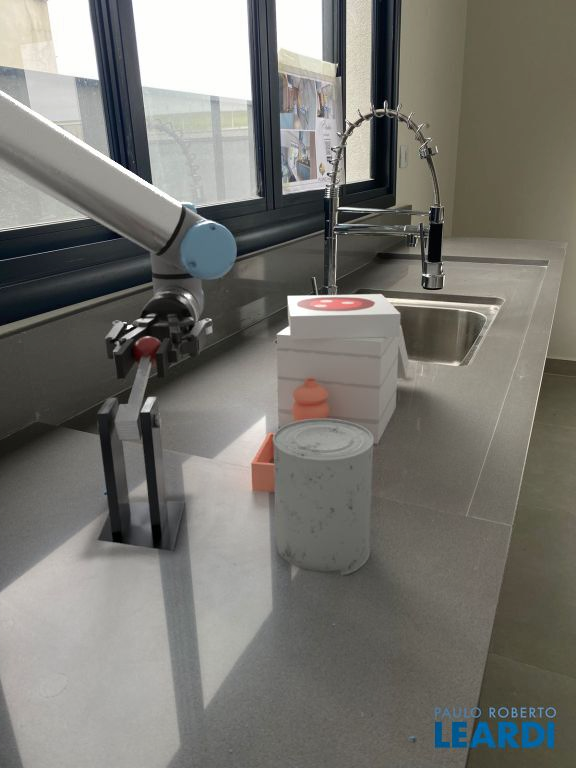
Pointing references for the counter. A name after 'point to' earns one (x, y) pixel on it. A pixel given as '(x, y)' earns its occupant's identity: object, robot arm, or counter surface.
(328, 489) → the grey tin can
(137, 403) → the lever
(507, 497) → the counter surface
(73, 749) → the counter surface
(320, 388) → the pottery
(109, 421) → the bracket
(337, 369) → the pizza boxes
